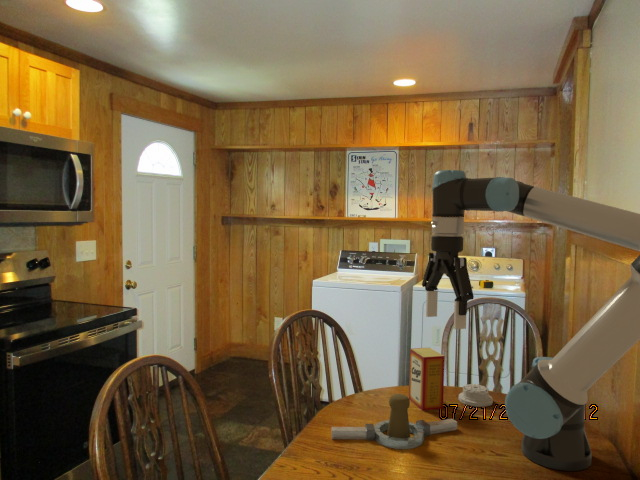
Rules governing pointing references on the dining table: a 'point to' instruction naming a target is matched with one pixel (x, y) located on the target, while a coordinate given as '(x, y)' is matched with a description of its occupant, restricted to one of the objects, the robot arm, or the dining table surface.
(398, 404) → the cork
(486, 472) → the dining table surface
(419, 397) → the baking soda box
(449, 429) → the grey flat ringed bar
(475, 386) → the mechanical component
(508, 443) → the dining table surface
